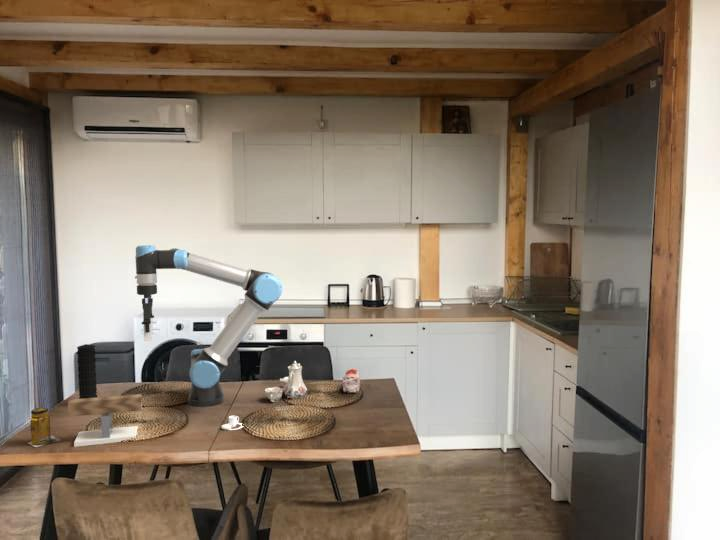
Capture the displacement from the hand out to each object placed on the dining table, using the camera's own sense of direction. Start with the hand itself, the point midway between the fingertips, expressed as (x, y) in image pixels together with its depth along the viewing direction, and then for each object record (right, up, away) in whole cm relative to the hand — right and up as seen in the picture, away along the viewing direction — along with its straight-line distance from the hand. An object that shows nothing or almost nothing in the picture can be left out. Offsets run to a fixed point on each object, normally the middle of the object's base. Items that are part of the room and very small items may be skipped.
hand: (148, 337), depth 232 cm
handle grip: (-31, -31, +16) cm, 47 cm away
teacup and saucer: (+33, -33, -11) cm, 48 cm away
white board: (-7, -34, -23) cm, 41 cm away
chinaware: (+53, -30, +28) cm, 67 cm away
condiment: (-28, -34, -26) cm, 51 cm away
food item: (+80, -29, +36) cm, 93 cm away
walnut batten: (-7, -24, -23) cm, 34 cm away
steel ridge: (-7, -32, -23) cm, 40 cm away
